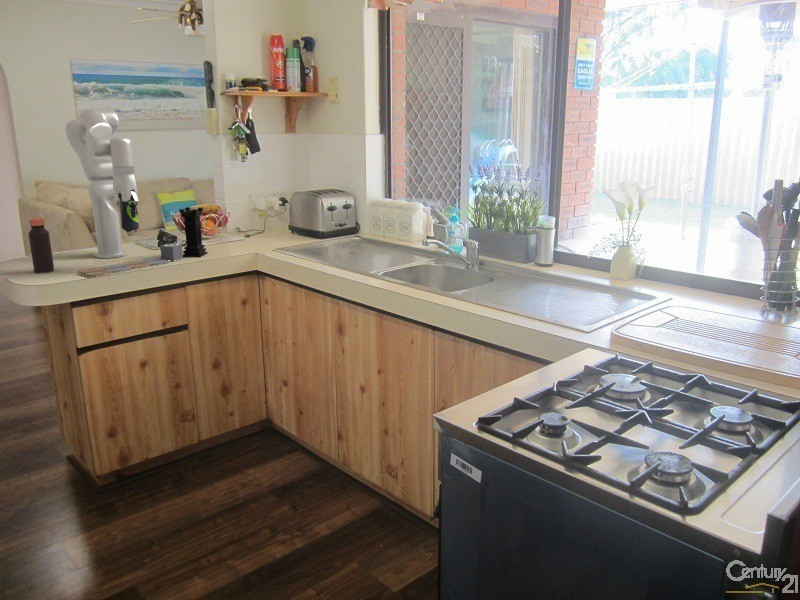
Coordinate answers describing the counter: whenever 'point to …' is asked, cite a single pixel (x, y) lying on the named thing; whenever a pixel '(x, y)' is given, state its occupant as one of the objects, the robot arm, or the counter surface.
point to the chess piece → (193, 232)
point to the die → (171, 251)
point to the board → (122, 267)
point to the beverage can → (127, 215)
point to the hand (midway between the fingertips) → (128, 218)
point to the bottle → (40, 246)
